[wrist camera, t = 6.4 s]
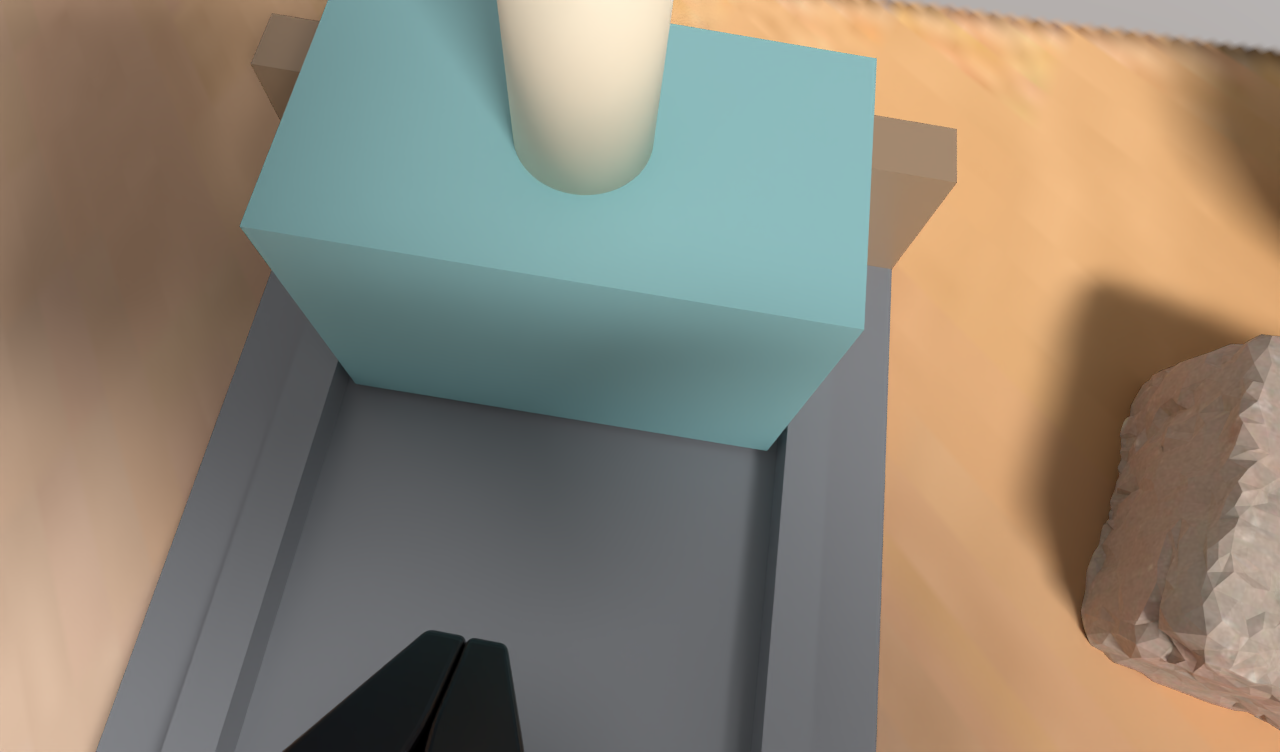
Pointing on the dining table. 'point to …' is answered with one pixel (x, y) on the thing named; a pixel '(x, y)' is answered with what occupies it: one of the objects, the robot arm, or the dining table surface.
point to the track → (530, 540)
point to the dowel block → (574, 210)
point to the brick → (1197, 533)
